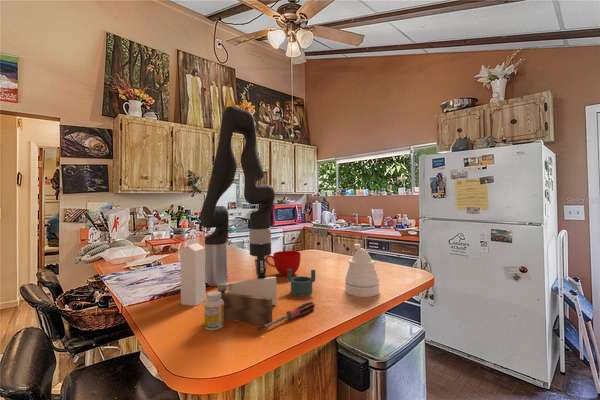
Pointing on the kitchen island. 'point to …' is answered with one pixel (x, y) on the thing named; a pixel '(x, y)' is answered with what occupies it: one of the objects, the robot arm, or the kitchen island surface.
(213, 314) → the supplement bottle
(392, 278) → the kitchen island surface
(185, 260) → the milk
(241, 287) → the cream flat slab
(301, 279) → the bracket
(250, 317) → the brown rectangular block
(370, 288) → the honey pot
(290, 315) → the screwdriver
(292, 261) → the ceramic cup
